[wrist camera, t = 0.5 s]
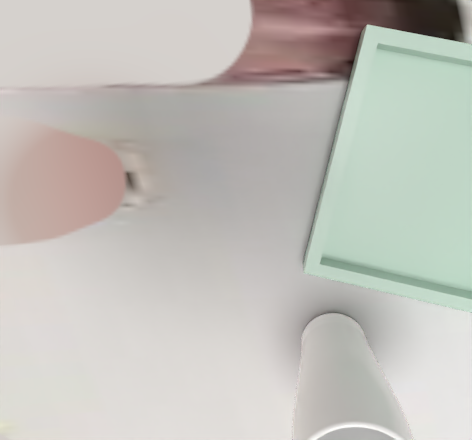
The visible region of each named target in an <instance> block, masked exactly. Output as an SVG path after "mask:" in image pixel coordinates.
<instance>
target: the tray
mask: <svg viewBox="0 0 472 440" xmlns="http://www.w3.org/2000/svg"><path fill="white" fill-rule="evenodd" d="M303 271H304V273H305V274H309V275H313V276H318V277H322V278H326V279H330V280H335V281H339V282H343V283H347V284H352V285H356V286H360V287H364V288H369V289H373V290H377V291H382V292H386V293H390V294H394V295H399V296H403V297H407V298H411V299H416V300H420V301H424V302H428V303H433V304H437V305H441V306H445V307H450V308H454V309H458V310H462V311H467V312H471V313H472V44H467V43H462V42H457V41H451V40H446V39H441V38H436V37H430V36H425V35H420V34H414V33H409V32H404V31H399V30H393V29H388V28H383V27H377V26H372V25H366V27H365V28H364V29H363V30H362V32H361V36H360V40H359V44H358V48H357V51H356V55H355V59H354V63H353V67H352V71H351V75H350V79H349V83H348V87H347V91H346V95H345V99H344V103H343V107H342V111H341V115H340V119H339V123H338V127H337V131H336V134H335V138H334V142H333V146H332V150H331V154H330V158H329V162H328V166H327V170H326V174H325V178H324V182H323V186H322V190H321V194H320V198H319V202H318V206H317V210H316V214H315V217H314V221H313V225H312V229H311V233H310V237H309V241H308V245H307V249H306V253H305V257H304V261H303Z"/></svg>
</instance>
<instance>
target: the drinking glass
mask: <svg viewBox="0 0 472 440" xmlns="http://www.w3.org/2000/svg"><path fill="white" fill-rule="evenodd" d="M292 440H414V439H413V436H412V433H411V430H410V427H409V424H408V422H407V419H406V417H405V415H404V412H403V410H402V408H401V406H400V404H399V401H398V399H397V397H396V396H395V394H394V392H393V390H392V388H391V386H390V384H389V382H388V380H387V378H386V377H385V375H384V373H383V371H382V369H381V367H380V365H379V363H378V361H377V360H376V358H375V356H374V354H373V352H372V350H371V348H370V346H369V344H368V342H367V339H366V336H365V333H364V331H363V329H362V328H361V326H360V325H359V324H358V323H357V322H356V321H355V320H353V319H352V318H350V317H348V316H346V315H343V314H339V313H327V314H323V315H320V316H318V317H316V318H314V319H313V320H312V321H311V322H310V323H309V324H308V325H307V326H306V328H305V329H304V332H303V334H302V339H301V358H300V366H299V374H298V381H297V388H296V396H295V403H294V411H293V423H292Z"/></svg>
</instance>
